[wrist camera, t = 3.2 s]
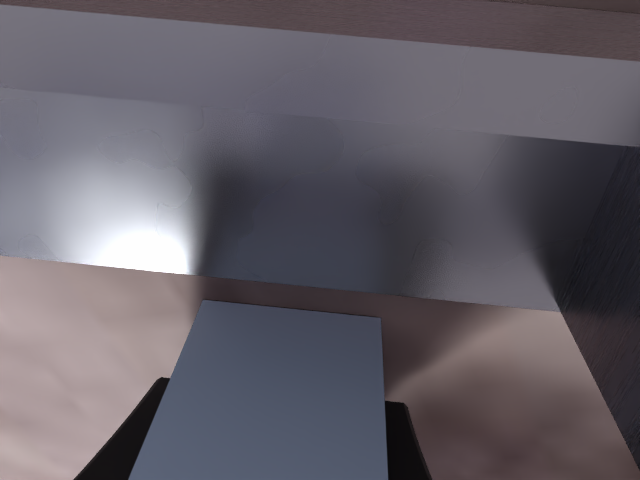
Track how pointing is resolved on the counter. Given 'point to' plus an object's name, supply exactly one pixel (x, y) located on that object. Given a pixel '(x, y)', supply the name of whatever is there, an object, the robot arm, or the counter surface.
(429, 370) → the counter surface
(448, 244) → the rail
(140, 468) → the block
